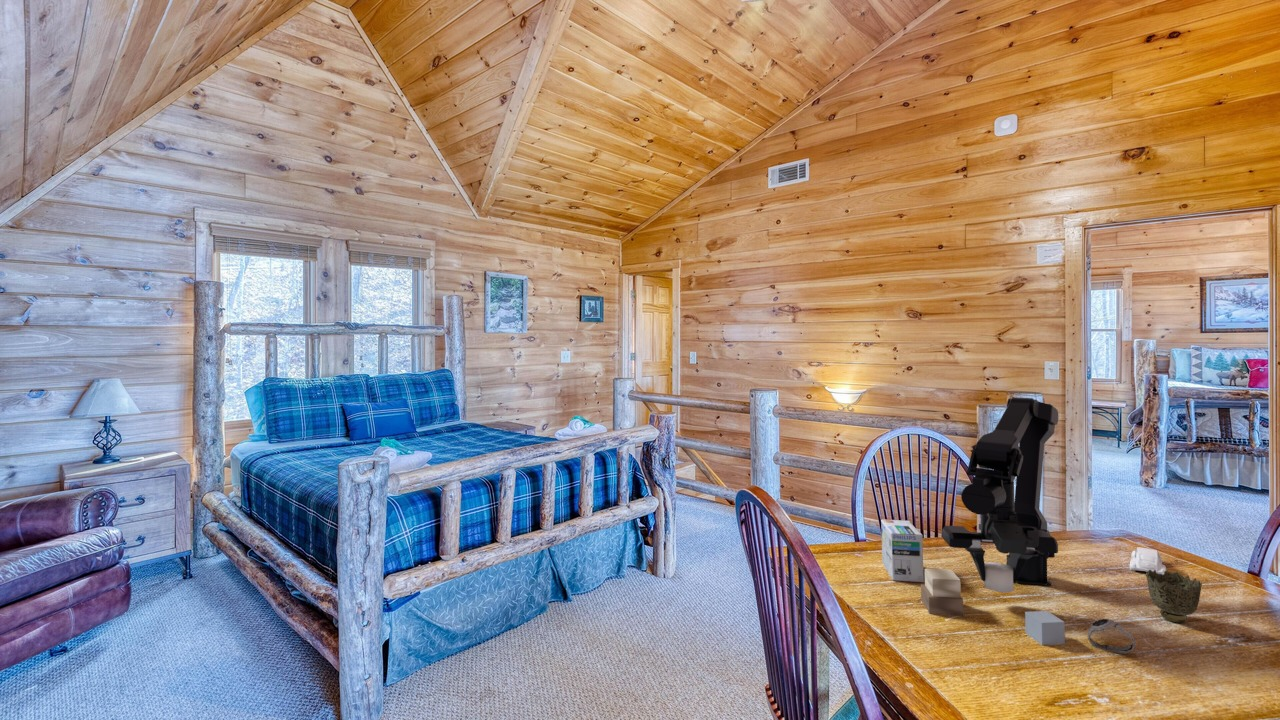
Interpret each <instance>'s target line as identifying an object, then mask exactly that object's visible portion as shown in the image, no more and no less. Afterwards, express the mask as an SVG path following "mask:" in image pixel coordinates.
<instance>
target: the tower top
mask: <svg viewBox="0 0 1280 720" xmlns="http://www.w3.org/2000/svg"><path fill="white" fill-rule="evenodd" d="M924 584H925V586H926V588H927V589H928V590H929V592H930V593H931V594H932V596H936V597H953V598H961V597H962V596H961V595H962V593H961V592H962V591H961V590H962V589H961V588H962V587H961V579H960V578H959V577H958V575H957V574H956V573H955V572H954V571H953V570H952V569H945V568H944V569H943V568H942V569H941V568H924Z"/></svg>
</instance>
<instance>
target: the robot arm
mask: <svg viewBox="0 0 1280 720" xmlns="http://www.w3.org/2000/svg"><path fill="white" fill-rule="evenodd" d="M1058 423H1059V411H1058V409H1057V408H1056V407H1055V406H1054V405H1052V404H1051V403H1045V402H1042V401H1039V400H1037V399H1034V398H1033V397H1031V398H1030V397H1014V396H1013V397H1012V398H1010V397H1009V398H1008V399H1007V402H1006V408H1005V409H1004V412H1003V414H1002V415H1001V418H1000V419H999V420H998V423H997V424H996V426H995V428H994V429H993V431H991V432H988V433H984V434H983V435H982V436H981V437H980V438H979V439H978V440H977V441H976V444H974V445H973V447H972V450H971V455H970V459H969V461H968V467H967V471H966V475H967V476H973V477H972V483H970V484H968V485H967V486H965V487H964V489H963V490H962V492H961V494H960V495H961V502H962V503H963V506H964V507H965V508H966V509H967V510H968V511H969V512H971V513H973V514H976V515H980V516H979V517H980V521H979V522H980V523H978V530H979V531H980V532H979V531H978V532H974V531H969V530H968V529H967V528H966V527H965V526H962V525H961V526H960V525H944V526H943V528H942V530H941V537H942V539H943V540H944V541H945V543H946V544H947V545H948V546H949V547H950V548H954V549H955V548H956V549H965V551H967V552H969V555H970V556H971V557H972V560H973V562H974V565H975V567H976V570H977V572H978V574H979V578H980V580H981V581H982V582H983V581H985V565H984V563H985V559H984V557H985V554H986V551H985V549H983V548H982V543H983V544H986V543H987V544H994V545H995V548H996V549H995V550H997V552H999V553H1001V554H1006V565H1008V566H1010V567H1012V568H1013V584H1016V583H1017V584H1022V585H1023V584H1024V585H1025V584H1026V585H1039V586H1052V582H1051V581H1049V580H1048V559H1049V558H1055V557H1056V556H1055V555H1056V554H1058V553H1059V544H1058V540H1057V539H1056V538H1055V537H1053V536H1052V535H1051V533H1050V531H1049V530H1048V522H1047V520H1046V518H1045V516H1044V515H1043V513H1042V511H1041V510H1040V506H1041V505H1040V502H1041V491H1042V489H1041V488H1042V479H1043V477H1042V475H1043V466H1044V465H1043V464H1044V452H1045V444H1046V443H1047V442H1048V441H1049V439H1050V438H1051V437H1052V436H1053V435H1054V433H1055V427H1056V426H1057V425H1058ZM1015 480H1016V482H1015Z"/></svg>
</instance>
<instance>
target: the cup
mask: <svg viewBox="0 0 1280 720" xmlns="http://www.w3.org/2000/svg"><path fill="white" fill-rule="evenodd" d="M1145 575H1146V581H1147V585H1148V586H1147V587H1148V592H1149V596H1150V601H1152V603H1153V605H1154V606H1156V607H1157V608H1158V609H1160V610H1159V613H1160V615H1161V617H1162V618H1163V619H1165V620H1167V621H1169V622H1172V623H1176V624H1183V623H1186V622H1187V621H1188V616H1189V615H1192V614H1193V613H1195V612H1196V611H1197V609H1198V606H1199V603H1200V598H1201V591H1202V586H1203V583H1202V582H1201V581H1200V580H1198V579H1197V578H1193V579H1192V580H1191V578H1190V576H1189V575H1186V576H1185V577H1184V576H1183V574H1181V573H1179V572H1178V571H1174V572H1170V571H1168V570H1166V571H1165V572H1164V574H1163V575H1162V574H1157V573H1156V570H1154V571H1151V570H1149V571H1148V572H1146V573H1145Z"/></svg>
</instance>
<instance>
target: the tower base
mask: <svg viewBox="0 0 1280 720" xmlns="http://www.w3.org/2000/svg"><path fill="white" fill-rule="evenodd" d="M920 599H921V602H922V603H923V605H924V607H925V609H926V610H928V611H927V612H928V614H930V615H941V616H942V615H943V616H955V617H964V599H963V597H962V596H961V598H953V597H936V596H932V594H931V593H930V592H929V590H928V589H927V588H926V586H925V583H923V584H922V583H920Z"/></svg>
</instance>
